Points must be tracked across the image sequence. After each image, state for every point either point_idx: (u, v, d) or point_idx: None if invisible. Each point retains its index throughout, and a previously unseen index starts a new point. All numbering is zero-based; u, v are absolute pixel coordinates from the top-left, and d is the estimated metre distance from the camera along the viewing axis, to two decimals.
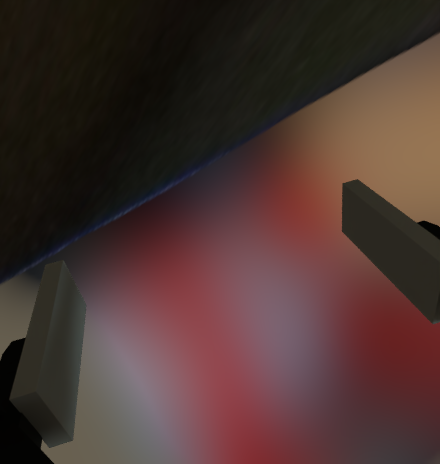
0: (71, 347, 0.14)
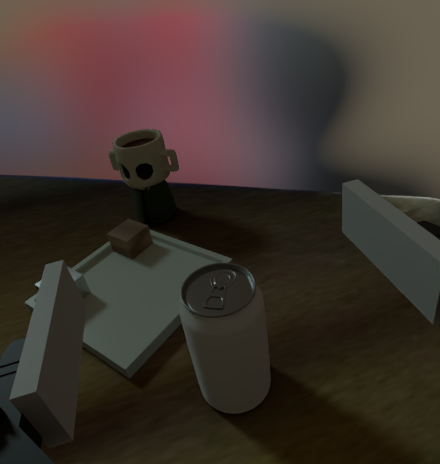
0: (71, 347, 0.14)
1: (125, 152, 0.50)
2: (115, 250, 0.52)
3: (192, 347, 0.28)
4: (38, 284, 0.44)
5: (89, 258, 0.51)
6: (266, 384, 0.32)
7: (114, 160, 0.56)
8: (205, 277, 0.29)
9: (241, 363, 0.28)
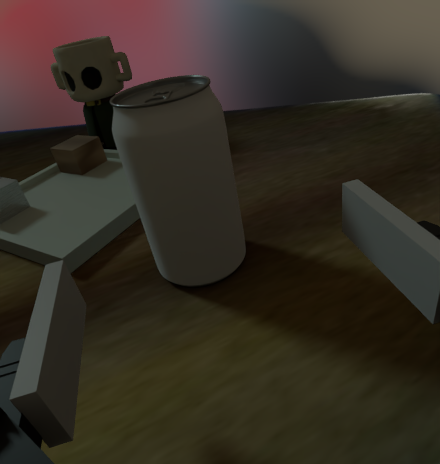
0: (71, 347, 0.14)
1: (66, 53, 0.43)
2: (62, 169, 0.44)
3: (132, 178, 0.21)
4: None
5: (30, 178, 0.43)
6: (239, 245, 0.25)
7: (58, 76, 0.49)
8: (146, 92, 0.22)
9: (198, 190, 0.21)
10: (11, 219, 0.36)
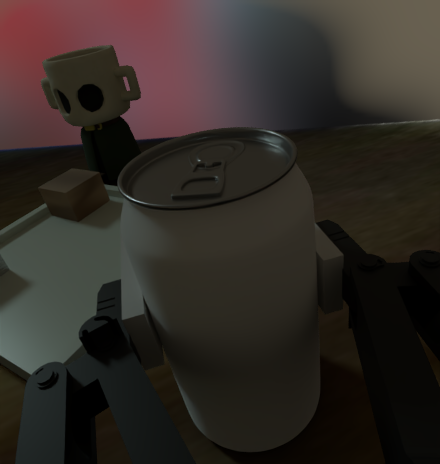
0: None
1: (59, 67, 0.34)
2: (54, 213, 0.35)
3: (156, 310, 0.12)
4: None
5: (13, 225, 0.34)
6: (317, 385, 0.16)
7: (50, 93, 0.40)
8: (177, 156, 0.13)
9: (272, 336, 0.12)
10: None
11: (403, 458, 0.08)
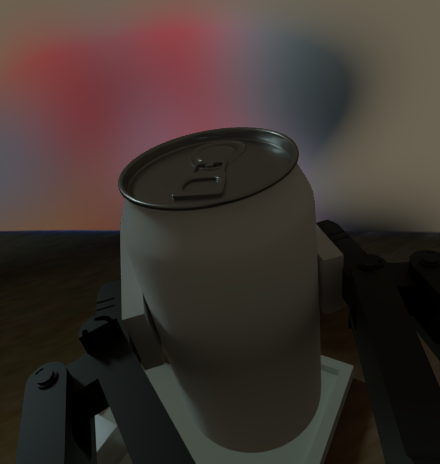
0: None
1: None
2: None
3: (157, 310, 0.12)
4: None
5: None
6: (318, 386, 0.16)
7: None
8: (178, 156, 0.13)
9: (273, 337, 0.12)
10: None
11: (403, 458, 0.08)
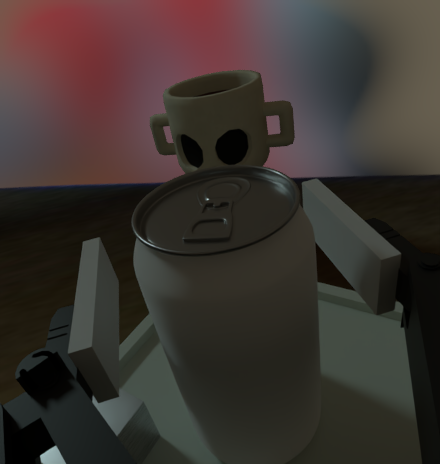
0: (111, 315, 0.15)
1: (198, 106, 0.24)
2: None
3: (167, 340, 0.13)
4: None
5: (134, 337, 0.23)
6: (318, 406, 0.17)
7: (161, 135, 0.29)
8: (186, 193, 0.14)
9: (276, 366, 0.13)
10: None
11: None
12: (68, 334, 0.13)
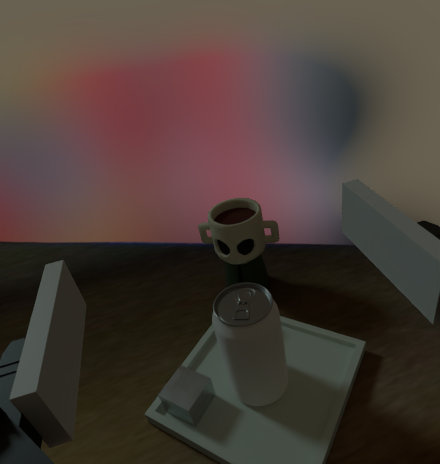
0: (71, 347, 0.14)
1: (228, 229, 0.46)
2: None
3: (225, 352, 0.35)
4: (162, 394, 0.39)
5: (197, 349, 0.46)
6: (285, 379, 0.39)
7: (204, 234, 0.52)
8: (231, 295, 0.36)
9: (265, 361, 0.35)
10: (206, 415, 0.39)
11: None
12: None
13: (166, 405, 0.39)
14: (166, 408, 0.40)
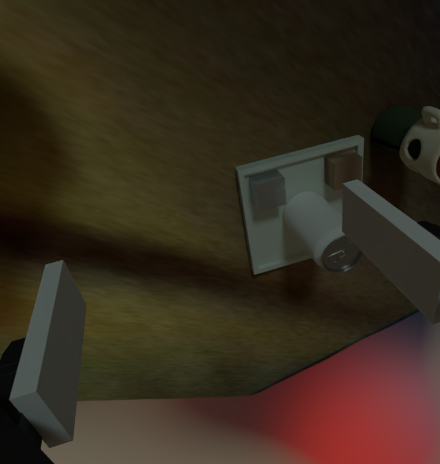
0: (71, 347, 0.14)
1: (429, 172, 0.43)
2: (325, 161, 0.52)
3: (305, 239, 0.48)
4: (257, 188, 0.49)
5: (304, 156, 0.51)
6: None
7: (431, 116, 0.42)
8: (347, 240, 0.45)
9: None
10: None
11: None
12: None
13: (252, 186, 0.50)
14: (250, 182, 0.50)
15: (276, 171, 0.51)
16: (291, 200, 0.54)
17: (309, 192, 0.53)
